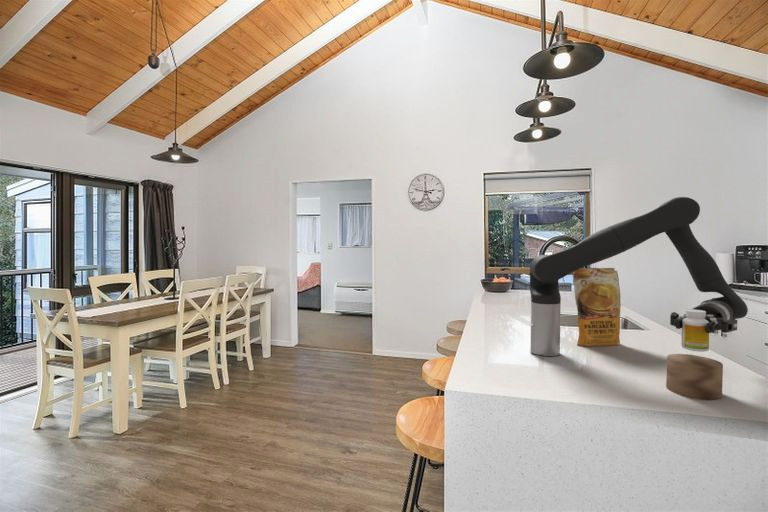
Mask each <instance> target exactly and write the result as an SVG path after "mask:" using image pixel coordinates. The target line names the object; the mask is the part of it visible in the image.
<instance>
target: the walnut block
mask: <svg viewBox="0 0 768 512" xmlns="http://www.w3.org/2000/svg"><path fill="white" fill-rule="evenodd" d="M723 373H724V364H723V363H722V362H721V361H719V360H716V359H713V358H710V357H705V356H701V355H695V354H688V353H687V354H686V353H672V354H668V355H667V356H666V376H665V377H666V378H665V379H666V381H665V382H666V383H665V384H666V385H665V387H666V389H667V390H668V391H670V392H672V393H673V394H676V395H679V396H682V397H686V398H690V399H695V400H702V401H719V400H721V399H722V398H723V381H724V380H723V377H724V376H723Z"/></svg>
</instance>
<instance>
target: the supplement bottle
mask: <svg viewBox="0 0 768 512" xmlns="http://www.w3.org/2000/svg"><path fill="white" fill-rule="evenodd" d="M685 314H686V316H687V317H686V318H684V319H683V320H682V328H681V347H682V348H683V349H685V350H687V351H693V352H707V351H709V349H710V333H706V325H707V323H709V322H708V321H707V320H706V319H705V317H706V311H703V310H695V309H693V308H691V309H690V308H689V309H685Z"/></svg>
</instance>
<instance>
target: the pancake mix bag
mask: <svg viewBox="0 0 768 512" xmlns="http://www.w3.org/2000/svg"><path fill="white" fill-rule="evenodd" d="M615 269H616V268H615V267H614V268H613V267H582V268H580V269H578V270H576V271H574V272H572V282H573V287H574V288H573V289H574V300H575V305H576V309H577V310H576V311H577V326H578V339H577V343H576V346H583V347H614V346H618V345H619V344H621V340H620V335H621V334H620V333H621V329H620V328H621V306H622V305H621V297H622V296H621V290H620V282H619V280H620V279H619V274H618V270H615Z"/></svg>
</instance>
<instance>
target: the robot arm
mask: <svg viewBox="0 0 768 512" xmlns="http://www.w3.org/2000/svg"><path fill="white" fill-rule="evenodd" d="M700 213H701V206H700V204H699V203H698V202H697V200H695V199H693V198H691V197H687V196H686V197H685V196H678V197H673V198H671V199H669V200H667V201H665V202H664V203H662V204H660V205H659V206H658V207H656V208H655V209H653V210H651V211H649V212H647V213H644V214H642V215H639V216H636V217H632V218H629V219H626V220H623V221H621V222H617V223H615V224H612V225H609V226H607V227H605V228H602V229H600V230H598V231H596V232H594V233H592V234H589V235H588V236H587V237H585V238H583V239H582V240H580V241H579V242H577V244H575V245H573V246H571V247H569V248H566V249H564V250H561V251H558V252H555V253H551V254H540V255H537V256H536V257H534V259H532V261H531V263H530V266H529V292H530V354H535V355H538V356H542V355H543V356H545V357H556V356H559V355H560V354H561V307H562V306H561V304H562V303H561V293H560V287H559V280H560V279H563V278H565V277H566V276H568V275H569V274H573V272H574V271H576V270H578V269H580V268H586V267H587V266H590V265H593V264H596V263H599V262H601V261H604V260H608V259H611V258H613V257H615V256H617V255H620V254H621V253H625V252H627V251H629V250H630V249H633V248H635V247H636V246H637V247H638V245H641V244H642V243H644V242H645V241H647V240H650V239H652V238H653V237H656V236H658V235H660V234H663V233H665V234H666V236H667V237H668V239H669V240H670V242H671V243H672V245H673V246H674V248H675V250H676V251H677V252H678V254H679V256H680V257H681V259H682V260H683V263H684V264H685V267H686V268H687V270H688V273H689V274H690V277H691V278H692V280H693V282H694V284H695V286H696V289H697V290H698V291H699V292H700V293H717V294H720V295H722V296H720V297H715V298H710V299H706V300H703V301H702V302H701V303H700V304H699V305H697V306H694V307H692V309H695V310H703V311H706V317H705V319H706V320H707V321H708V322H709V323H707V325H706V333H709V334H713V333H718V332H719V331H721V333H723V334H725V333H731V332H734V331H738V320H739V319H742V318H745V317H746V316H747V315H748V312H749V309H748V305H747V303H746V302H745V301H744V299H742V298H741V296H739V295H738V294H737V293H736V291H735V290H734V289H732V287H731V286H730V285H729V284H728V282H727V281H726V279H725V277H724V275H723V274H722V272H721V269H720V267H719V266H718V264H717V262H716V260H715V259H714V257H712V255H711V254H710V253H709V252H708V251H707V250H706V249H705V248H704V247H703V245H701V243H700V242H699V241H698V239H697V238H696V237H695V235H694V234H693V231H692V230H691V226H690V225H692V224H693V223H694V222H695V221H696V220H697V219H698V217H699V216H700ZM669 315H670V317H669V319H670V321H669V322H670V323H669V324H670V326H671V327H675V329H678V330H682V320H683V319H684V318H686V317H687V316H686V314H683V315H680V313H677V312H675V311H674V312H671V314H669Z"/></svg>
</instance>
